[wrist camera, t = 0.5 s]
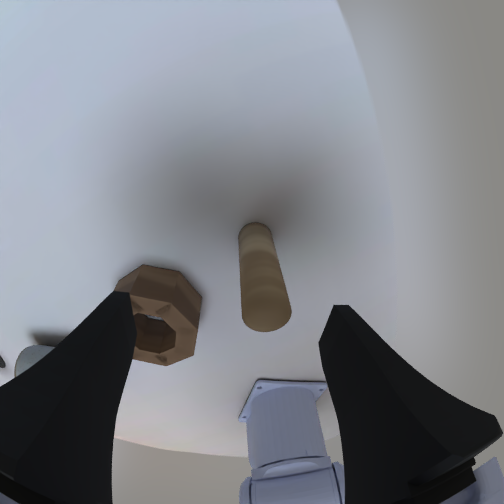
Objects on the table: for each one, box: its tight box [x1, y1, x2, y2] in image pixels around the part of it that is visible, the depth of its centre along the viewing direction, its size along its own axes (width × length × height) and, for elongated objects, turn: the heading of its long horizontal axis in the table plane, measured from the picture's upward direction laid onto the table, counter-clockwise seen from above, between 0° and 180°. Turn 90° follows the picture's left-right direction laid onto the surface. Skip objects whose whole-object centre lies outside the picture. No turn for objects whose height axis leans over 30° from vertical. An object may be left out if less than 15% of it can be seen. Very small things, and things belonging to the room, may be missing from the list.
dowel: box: [238, 223, 292, 332], centre depth 16 cm, size 2×2×8 cm
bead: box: [114, 265, 202, 366], centre depth 20 cm, size 7×7×4 cm
